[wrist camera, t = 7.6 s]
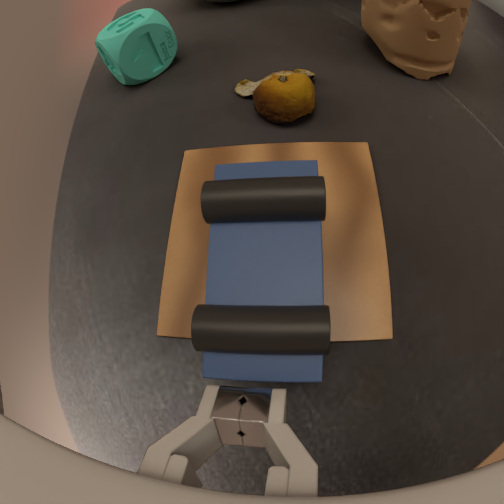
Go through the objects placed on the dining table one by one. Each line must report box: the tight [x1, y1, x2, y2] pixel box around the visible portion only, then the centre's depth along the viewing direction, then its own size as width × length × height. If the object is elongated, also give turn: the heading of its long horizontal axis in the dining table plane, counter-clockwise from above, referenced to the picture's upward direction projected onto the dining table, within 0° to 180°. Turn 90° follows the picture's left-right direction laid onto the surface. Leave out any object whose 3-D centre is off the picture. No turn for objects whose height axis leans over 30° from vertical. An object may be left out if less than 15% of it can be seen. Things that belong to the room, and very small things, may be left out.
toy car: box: [191, 160, 331, 382], centre depth 17 cm, size 6×6×12 cm
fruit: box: [235, 69, 315, 124], centre depth 26 cm, size 8×8×4 cm
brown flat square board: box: [157, 142, 393, 342], centre depth 22 cm, size 16×16×1 cm
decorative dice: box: [95, 8, 178, 85], centre depth 30 cm, size 8×8×8 cm
